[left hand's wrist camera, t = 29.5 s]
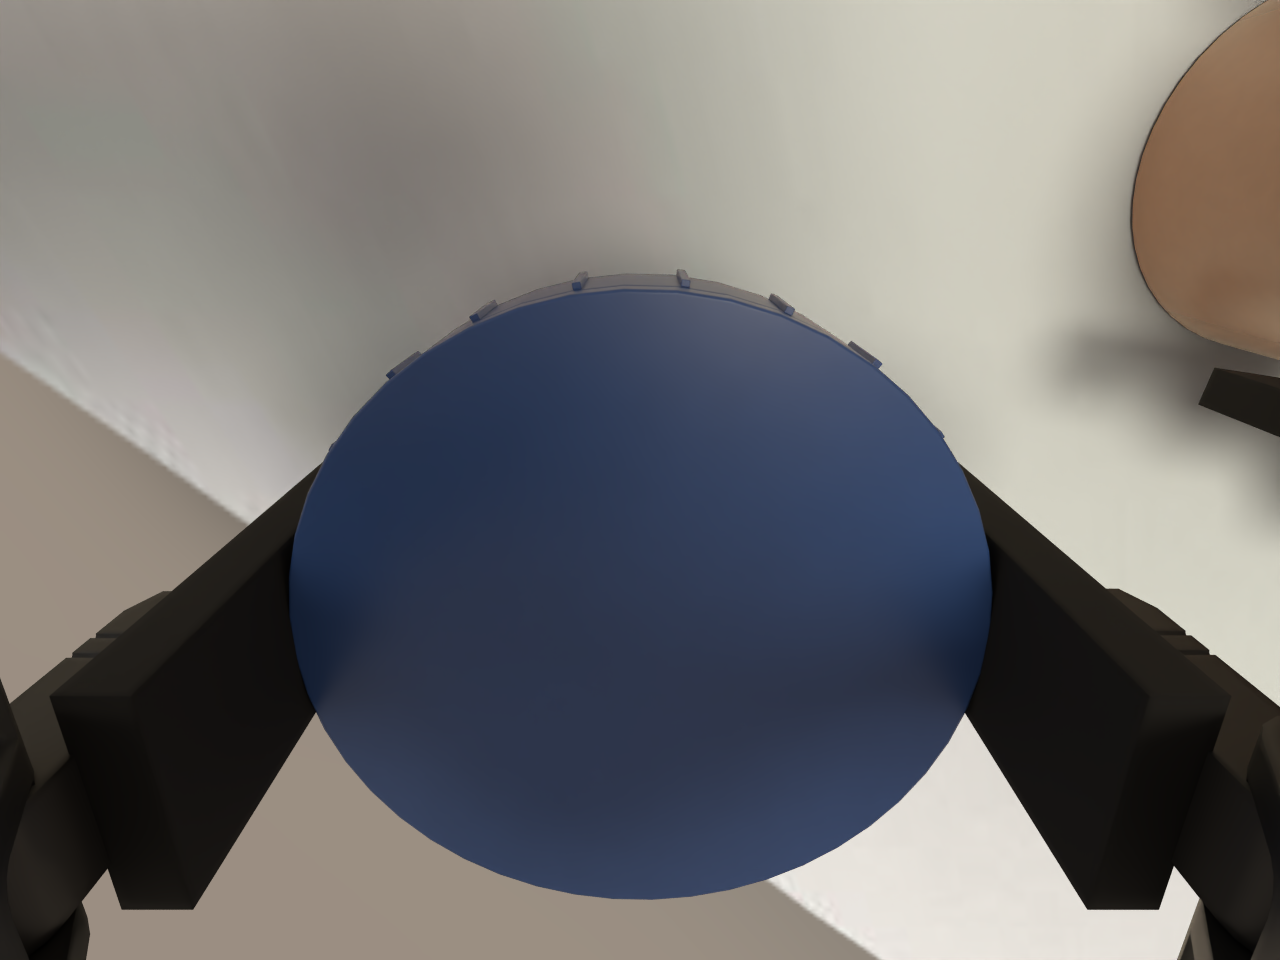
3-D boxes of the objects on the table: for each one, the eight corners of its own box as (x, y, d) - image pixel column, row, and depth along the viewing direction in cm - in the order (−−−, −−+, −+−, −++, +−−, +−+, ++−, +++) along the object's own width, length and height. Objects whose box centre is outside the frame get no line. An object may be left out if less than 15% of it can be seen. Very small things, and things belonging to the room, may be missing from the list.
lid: (204, 440, 11) (128, 484, 9) (824, 138, 10) (862, 127, 8) (515, 880, 14) (498, 971, 12) (1017, 704, 13) (1073, 780, 11)
